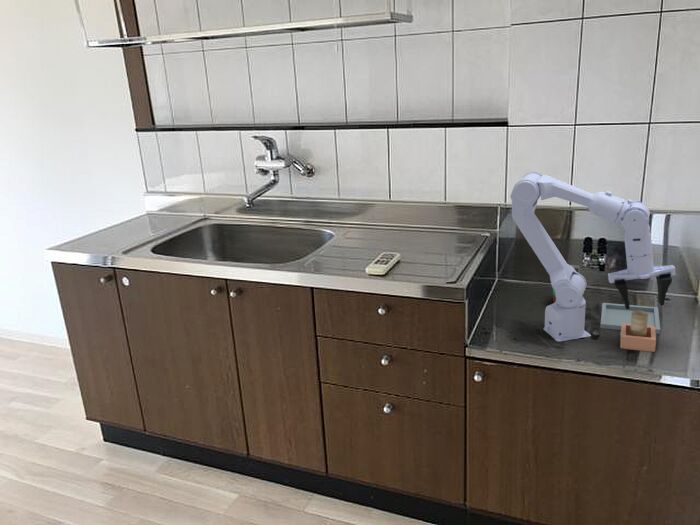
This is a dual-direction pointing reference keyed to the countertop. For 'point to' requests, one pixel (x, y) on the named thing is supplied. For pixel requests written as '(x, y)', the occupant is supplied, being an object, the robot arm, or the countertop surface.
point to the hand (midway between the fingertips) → (644, 305)
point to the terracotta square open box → (638, 339)
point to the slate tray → (626, 316)
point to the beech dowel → (639, 323)
